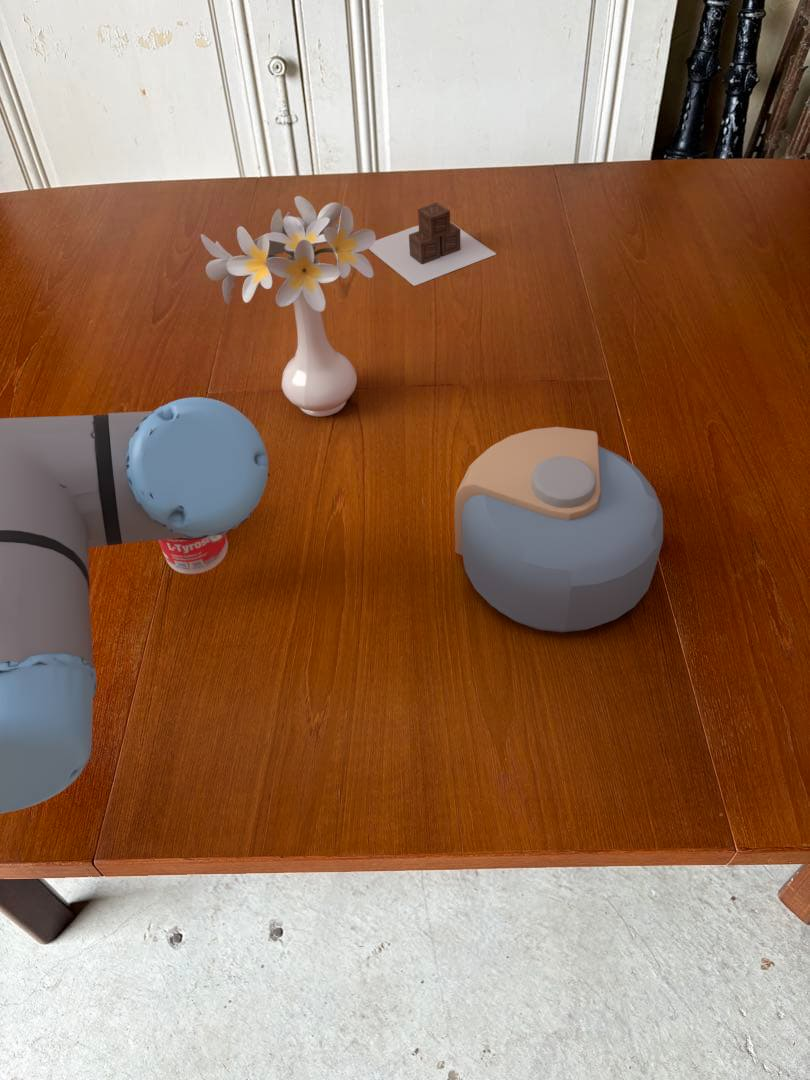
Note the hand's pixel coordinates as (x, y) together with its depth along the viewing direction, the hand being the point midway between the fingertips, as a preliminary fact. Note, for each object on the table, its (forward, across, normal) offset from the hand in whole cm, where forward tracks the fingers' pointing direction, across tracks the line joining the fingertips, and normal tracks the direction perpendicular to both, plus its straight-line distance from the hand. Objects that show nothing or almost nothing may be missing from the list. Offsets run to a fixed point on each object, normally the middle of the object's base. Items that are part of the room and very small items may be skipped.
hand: (177, 506), depth 80 cm
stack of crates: (+36, +53, +23) cm, 68 cm away
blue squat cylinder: (-7, +32, -20) cm, 38 cm away
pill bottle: (0, 0, -5) cm, 5 cm away
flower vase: (+18, +22, +6) cm, 29 cm away
